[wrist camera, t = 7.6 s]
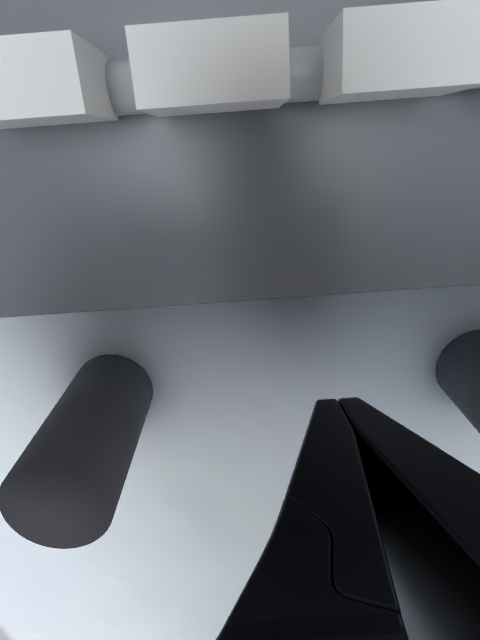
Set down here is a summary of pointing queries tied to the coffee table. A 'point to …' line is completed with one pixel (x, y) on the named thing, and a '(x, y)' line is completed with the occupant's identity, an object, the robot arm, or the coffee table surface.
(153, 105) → the breaker paddles
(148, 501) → the coffee table surface
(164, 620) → the coffee table surface
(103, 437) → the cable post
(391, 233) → the breaker panel
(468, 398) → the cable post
